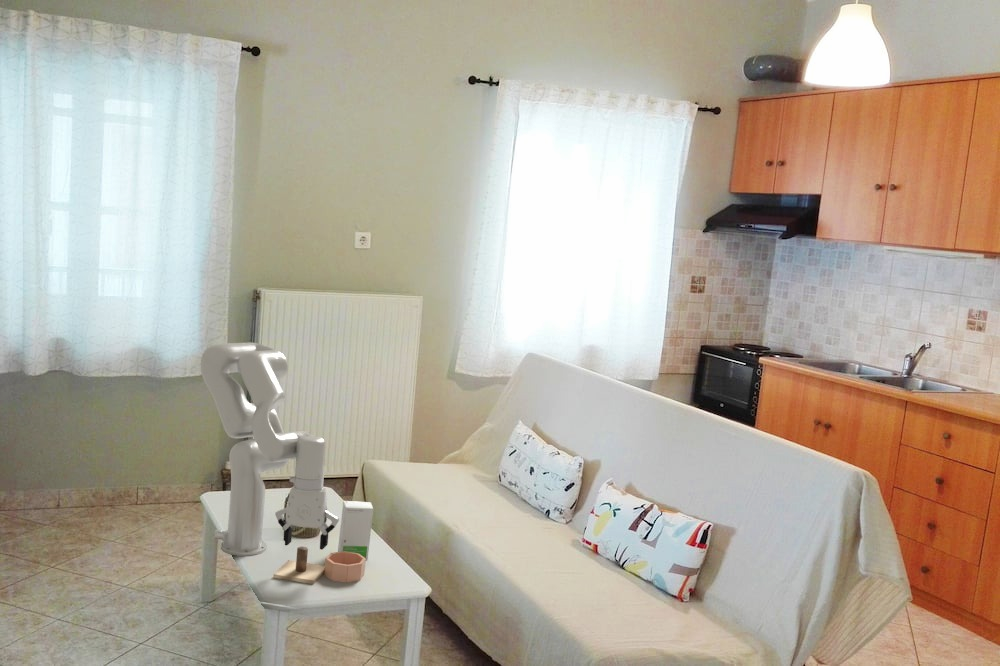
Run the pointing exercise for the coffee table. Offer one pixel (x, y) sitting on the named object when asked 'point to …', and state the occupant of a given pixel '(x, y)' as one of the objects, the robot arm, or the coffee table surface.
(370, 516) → the skincare box
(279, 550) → the coffee table surface
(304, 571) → the lid
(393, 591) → the coffee table surface
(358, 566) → the bowl
